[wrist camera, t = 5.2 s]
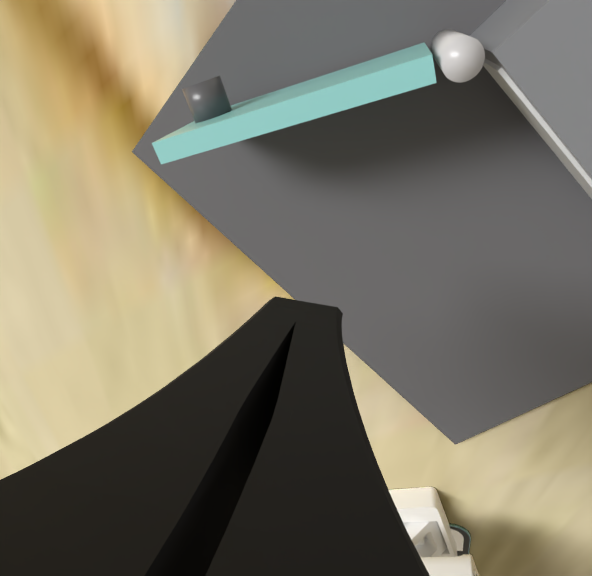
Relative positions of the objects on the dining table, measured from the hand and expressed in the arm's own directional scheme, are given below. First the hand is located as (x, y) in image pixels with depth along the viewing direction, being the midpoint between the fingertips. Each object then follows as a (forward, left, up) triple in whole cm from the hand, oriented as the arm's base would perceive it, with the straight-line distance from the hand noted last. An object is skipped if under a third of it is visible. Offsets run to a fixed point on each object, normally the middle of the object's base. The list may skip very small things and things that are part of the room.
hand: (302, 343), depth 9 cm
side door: (-2, -3, -9) cm, 10 cm away
